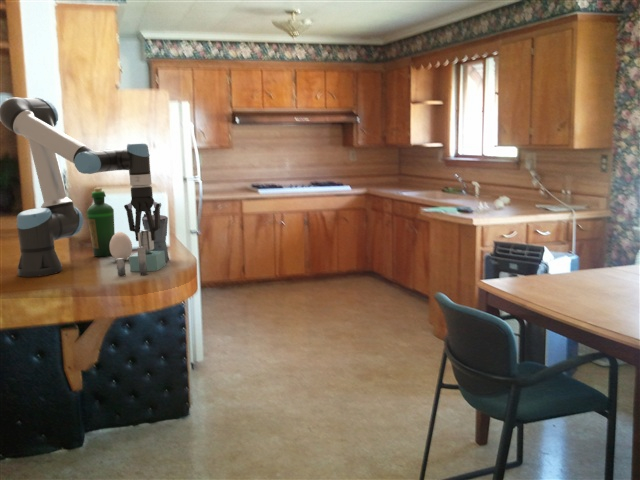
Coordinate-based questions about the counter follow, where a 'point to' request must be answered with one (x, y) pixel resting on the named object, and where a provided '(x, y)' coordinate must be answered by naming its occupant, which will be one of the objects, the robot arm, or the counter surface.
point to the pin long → (146, 241)
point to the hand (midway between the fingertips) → (146, 249)
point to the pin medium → (142, 260)
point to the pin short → (121, 267)
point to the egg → (120, 246)
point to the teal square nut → (149, 261)
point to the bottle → (100, 224)
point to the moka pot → (158, 233)
